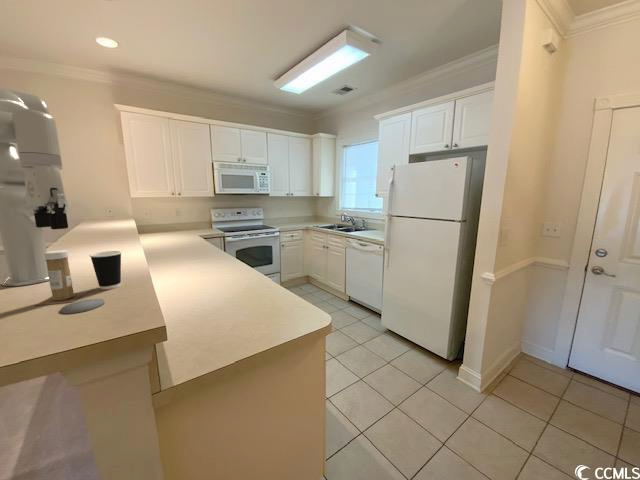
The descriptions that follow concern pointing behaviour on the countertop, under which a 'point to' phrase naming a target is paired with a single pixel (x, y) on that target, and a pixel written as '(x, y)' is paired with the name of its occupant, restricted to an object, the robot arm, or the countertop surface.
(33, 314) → the countertop surface
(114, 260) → the dixie cup
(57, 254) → the sprinkles bottle
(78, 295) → the tile
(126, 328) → the countertop surface
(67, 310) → the coaster
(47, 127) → the robot arm
